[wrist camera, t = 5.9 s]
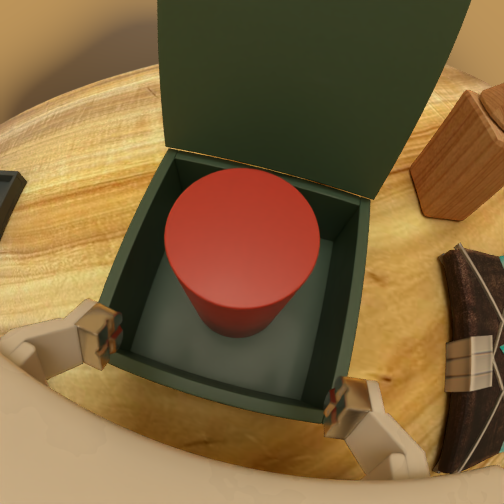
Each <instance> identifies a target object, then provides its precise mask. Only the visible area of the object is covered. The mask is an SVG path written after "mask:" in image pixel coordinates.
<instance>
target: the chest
mask: <svg viewBox="0 0 504 504" xmlns="http://www.w3.org/2000/svg"><path fill="white" fill-rule="evenodd" d="M233 168H249V169H257V170H261V171H265V172H268V173H271V174H274V175H276V176H278V177H280V178H282V179H283V180H285V181H287V182H288V183H290V184H291V185H292V186H293V187H295V188H296V189H297V190H298V191H299V192H300V193H301V194H302V195H303V196H304V198H305V199H306V200H307V201H308V203H309V205H310V206H311V208H312V210H313V212H314V214H315V217H316V219H317V223H318V226H319V233H320V248H319V255H318V258H317V261H316V264H315V266H314V268H313V271H312V273H311V274H310V276H309V277H308V279H307V280H306V281H305V283H304V284H303V285H302V286H301V287H300V289H299V290H298V291H297V292H296V293H295V295H294V296H293V297H292V298H291V299H290V301H289V302H288V303H287V304H286V305H285V307H284V308H283V309H282V310H281V311H280V312H279V314H278V315H277V316H276V317H275V318H274V319H273V320H272V322H271V323H270V324H269V325H268V326H267V327H266V328H265V329H263V330H262V331H260V332H259V333H257V334H255V335H252V336H249V337H244V338H230V337H226V336H222V335H220V334H218V333H216V332H214V331H213V330H211V329H210V328H209V327H208V326H207V325H206V324H205V323H204V322H203V321H202V319H201V318H200V316H199V315H198V313H197V311H196V310H195V308H194V306H193V305H192V303H191V301H190V300H189V298H188V296H187V294H186V293H185V291H184V289H183V287H182V286H181V284H180V282H179V280H178V279H177V277H176V275H175V273H174V272H173V270H172V268H171V266H170V264H169V261H168V258H167V255H166V250H165V242H164V234H165V226H166V222H167V218H168V215H169V213H170V210H171V208H172V207H173V205H174V203H175V201H176V200H177V199H178V197H179V196H180V195H181V194H182V193H183V192H184V191H185V190H186V189H187V188H188V187H189V186H190V185H191V184H193V183H194V182H196V181H197V180H199V179H200V178H202V177H204V176H206V175H209V174H211V173H214V172H217V171H221V170H225V169H233ZM369 218H370V200H369V199H366V198H363V197H359V196H357V195H354V194H350V193H347V192H344V191H341V190H338V189H334V188H331V187H328V186H324V185H321V184H318V183H314V182H311V181H307V180H304V179H300V178H297V177H293V176H289V175H286V174H282V173H278V172H274V171H270V170H266V169H262V168H258V167H254V166H250V165H246V164H242V163H237V162H233V161H229V160H224V159H220V158H215V157H210V156H205V155H201V154H196V153H191V152H185V151H180V150H179V151H178V150H175V149H170V148H169V149H168V151H167V152H166V154H165V156H164V158H163V160H162V162H161V163H160V165H159V167H158V169H157V171H156V173H155V175H154V177H153V178H152V180H151V182H150V184H149V186H148V188H147V190H146V192H145V194H144V196H143V198H142V200H141V202H140V204H139V206H138V209H137V211H136V213H135V215H134V217H133V219H132V221H131V224H130V226H129V228H128V230H127V232H126V235H125V237H124V239H123V242H122V244H121V246H120V249H119V251H118V253H117V256H116V258H115V261H114V263H113V265H112V268H111V270H110V273H109V276H108V278H107V281H106V283H105V286H104V289H103V291H102V294H101V297H100V300H99V302H98V303H101V304H103V305H105V306H107V307H110V308H112V309H114V310H117V311H119V312H121V313H122V320H123V321H122V322H121V324H120V326H121V328H122V330H123V338H122V342H121V345H120V347H119V349H118V350H117V351H116V353H113V354H110V361H109V362H108V363H109V364H111V365H113V366H116V367H118V368H120V369H123V370H125V371H127V372H130V373H132V374H135V375H137V376H140V377H142V378H145V379H148V380H150V381H153V382H156V383H158V384H161V385H164V386H167V387H170V388H173V389H176V390H179V391H182V392H185V393H188V394H191V395H194V396H197V397H201V398H204V399H207V400H211V401H214V402H218V403H222V404H225V405H229V406H233V407H237V408H241V409H245V410H249V411H254V412H258V413H263V414H267V415H272V416H277V417H282V418H288V419H293V420H299V421H305V422H312V423H318V424H321V423H322V424H324V421H325V420H326V419H327V417H326V416H325V415H324V414H323V406H324V401H325V398H326V395H327V394H328V392H329V390H331V389H333V388H335V384H334V382H335V381H336V379H337V378H338V377H339V376H346V377H347V375H348V370H349V365H350V361H351V356H352V351H353V345H354V340H355V334H356V329H357V323H358V317H359V310H360V303H361V296H362V289H363V281H364V273H365V264H366V255H367V244H368V232H369Z"/></svg>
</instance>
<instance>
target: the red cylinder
mask: <svg viewBox="0 0 504 504" xmlns="http://www.w3.org/2000/svg"><path fill="white" fill-rule="evenodd" d="M164 242H165V250H166V255H167V258H168V261H169V264H170V266H171V268H172V270H173V272H174V273H175V275H176V277H177V279H178V280H179V282H180V284H181V286H182V287H183V289H184V291H185V293H186V294H187V296H188V298H189V300H190V301H191V303H192V305H193V306H194V308H195V310H196V311H197V313H198V315H199V316H200V318H201V319H202V321H203V322H204V323H205V324H206V325H207V326H208V327H209V328H210V329H211V330H213V331H214V332H216V333H218V334H220V335H222V336H226V337H230V338H244V337H249V336H252V335H255V334H257V333H259V332H260V331H262V330H263V329H265V328H266V327H267V326H268V325H269V324H270V323H271V322H272V320H273V319H274V318H275V317H276V316H277V315H278V314H279V312H280V311H281V310H282V309H283V308H284V307H285V305H286V304H287V303H288V302H289V301H290V299H291V298H292V297H293V296H294V295H295V293H296V292H297V291H298V290H299V289H300V287H301V286H302V285H303V284H304V283H305V281H306V280H307V279H308V277H309V276H310V274H311V273H312V271H313V268H314V266H315V264H316V261H317V258H318V255H319V248H320V233H319V226H318V223H317V219H316V217H315V214H314V212H313V210H312V208H311V206H310V205H309V203H308V201H307V200H306V199H305V198H304V196H303V195H302V194H301V193H300V192H299V191H298V190H297V189H296V188H295V187H293V186H292V185H291V184H290V183H288V182H287V181H285V180H283V179H282V178H280V177H278V176H276V175H274V174H271V173H268V172H265V171H261V170H257V169H249V168H233V169H225V170H221V171H217V172H214V173H211V174H209V175H206V176H204V177H202V178H200V179H199V180H197V181H196V182H194V183H193V184H191V185H190V186H189V187H188V188H187V189H186V190H185V191H184V192H183V193H182V194H181V195H180V196H179V197H178V199H177V200H176V201H175V203H174V205H173V207H172V208H171V210H170V213H169V215H168V218H167V222H166V226H165V234H164Z"/></svg>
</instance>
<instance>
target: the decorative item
mask: <svg viewBox="0 0 504 504" xmlns="http://www.w3.org/2000/svg"><path fill="white" fill-rule="evenodd" d="M410 172H411V175H412V178H413V181H414V185H415V188H416V191H417V195H418V198H419V201H420V205H421V209H422V212H423V214H424V215H425V216H427V217H435V218H443V219H451V220H458V221H462V220H464V219H466V218H467V217H468V216H469V215H470V214H472V213H473V212H474V211H475V210H477V209H478V208H479V207H480V206H481V205H482V204H484V203H485V202H486V201H487V200H488V199H490V198H491V197H492V196H493V195H494V194H495V193H496V192H498V191H499V190H500V189H501V188H502V187H503V186H504V83H503V84H500V85H497V86H494V87H491V88H489V89H486V90H483V91H482V93H481V95H479V94H477V93H475V92H473V91H471V90H466V91H465V92H464V93H463V94H462V96H461V97H460V99H459V100H458V102H457V103H456V105H455V106H454V108H453V109H452V110H451V112H450V113H449V115H448V116H447V118H446V119H445V120H444V122H443V123H442V125H441V126H440V128H439V129H438V130H437V132H436V133H435V135H434V136H433V137H432V139H431V140H430V141H429V143H428V144H427V145H426V147H425V148H424V150H423V151H422V152H421V154H420V155H419V156H418V158H417V159H416V160H415V162H414V163H413V164H412V165H411V168H410Z"/></svg>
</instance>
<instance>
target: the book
mask: <svg viewBox="0 0 504 504" xmlns="http://www.w3.org/2000/svg"><path fill="white" fill-rule="evenodd" d="M454 249H455V250H450V251H448V252H447V253H445V254H444V253H443V254H442V255H440V256H439V257H438V258H439V260H440V261H441V263H442V264H443V266H444V267H445V272H446V277H447V282H448V288H449V294H450V301H451V308H452V316H453V341H452V342H448V343H446V377H445V392H451V400H450V410H449V417H448V423H447V429H446V434H445V439H444V444H443V448H442V453H441V457H440V460H439V462H438V463H437V465H436V466H435V467H434V469H433V470H432V471H434V472H436V473H440V472H443V473H450V474H453V473H459V472H461V471H463V470H465V469H468V468H470V467H472V466H474V465H476V464H478V463H480V462H482V461H484V460H486V459H488V458H490V457H492V456H494V455H496V454H498V453H501V452H504V256H500V257H499V256H494V255H489V254H486V253H482V252H478V251H474V250H470V249H466V248H463V246H462V245H461V243H459V244H457V245H456V246H455V247H454Z"/></svg>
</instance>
